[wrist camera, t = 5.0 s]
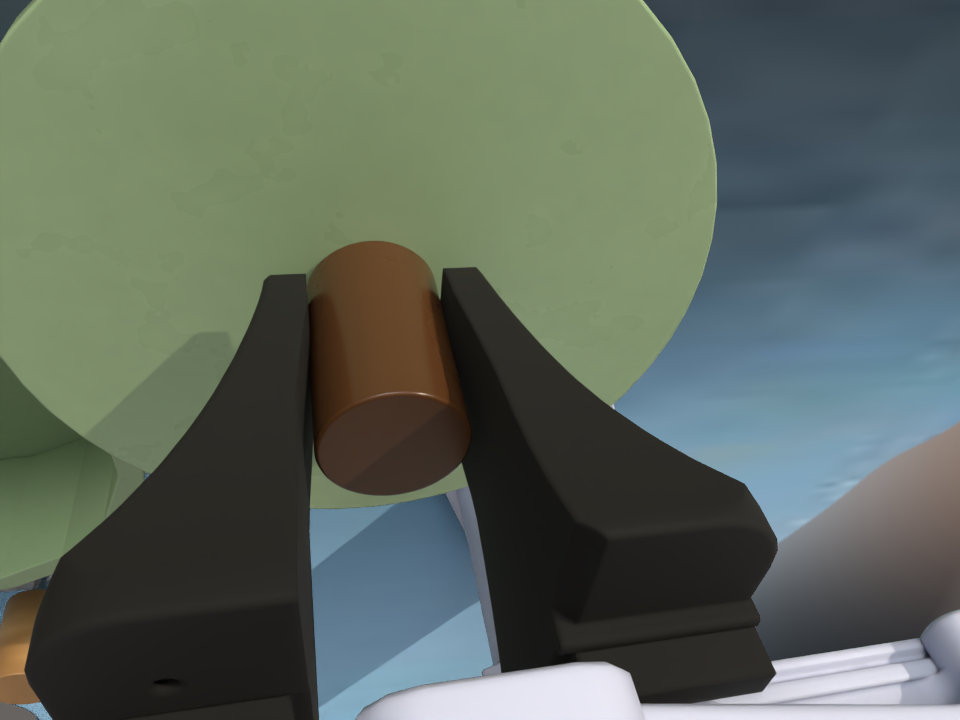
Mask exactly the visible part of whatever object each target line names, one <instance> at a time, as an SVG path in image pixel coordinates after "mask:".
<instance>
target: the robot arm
mask: <svg viewBox="0 0 960 720" xmlns="http://www.w3.org/2000/svg"><path fill="white" fill-rule="evenodd" d="M440 302H441V306H442V310H443V314H444V319H445V323H446V327H447V331H448V335H449V339H450V343H451V347H452V351H453V355H454V359H455V363H456V367H457V372H458V376H459V380H460V384H461V388H462V392H463V396H464V400H465V404H466V408H467V412H468V416H469V420H470V425H471V430H472V440H471V444H470V448H469V450H468V453H467V455H466V456H465V458H464V460H463V461H462V462H461V463H462V466H463V469H464V473H465V476H466V480H467V483H468V486H467V487H464V488H461V489H457V490H454V491H451V492H448V493H445V494H446V496H447V498H448V500H449V502H450V504H451V506H452V508H453V510H454V512H455V514H456V516H457V518H458V520H459V522H460V524H461V526H462V528H463V530H464V532H465V533H466V538H467V543H468V547H469V552H470V557H471V562H472V566H473V571H474V576H475V580H476V585H477V590H478V595H479V599H480V604H481V609H482V614H483V618H484V623H485V628H486V633H487V637H488V642H489V647H490V651H491V656H492V661H493V666H491V667H488V668H486V669H484V670H483V671H482V676H480V677H473V678H466V679H459V680H453V681H446V682H439V683H433V684H426V685H420V686H417V687H413V688H409V689H405V690H401V691H398V692H394V693H390V694H388V695H386V696H384V697H382V698H381V699H379V700H377V701H375V702H374V703H372V704H370V705H368V706H367V707H365V708H364V709H363V710H362V711H361V712H360V713H359V714H358V716H357V718H356V719H355V720H960V610H956V611H952V612H949V613H947V614H945V615H942V616H940V617H938V618H937V619H936V620H934V621H933V622H932V623H931V624H930V625H929V626H928V627H927V628H926V629H925V631H924V632H923V633H922V635H921V638H916V639H910V640H904V641H897V642H891V643H885V644H879V645H872V646H866V647H859V648H853V649H847V650H841V651H834V652H827V653H821V654H815V655H808V656H802V657H796V658H789V659H783V660H777V661H771V660H770V658H769V656H768V654H767V652H766V650H765V648H764V646H763V644H762V641H761V639H760V637H759V635H758V633H757V631H756V629H755V627H754V626H758V624H759V623H760V615H759V613H758V612H757V609H756V607H755V605H754V603H753V601H752V599H751V596H752V595H753V593H754V592H755V590H756V589H757V587H758V585H759V584H760V582H761V581H762V579H763V578H764V576H765V575H766V573H767V571H768V570H769V568H770V566H771V564H772V562H773V560H774V557H775V555H776V553H777V551H778V549H777V538H776V536H775V534H774V532H773V530H772V529H771V527H770V525H769V523H768V521H767V519H766V517H765V515H764V514H763V512H762V510H761V508H760V506H759V505H758V503H757V502H756V500H755V499H754V497H753V496H752V494H751V493H750V491H749V490H748V488H747V487H746V485H745V484H744V483H742V482H740V481H738V480H736V479H734V478H731V477H729V476H727V475H725V474H723V473H721V472H719V471H717V470H715V469H713V468H711V467H709V466H707V465H704V464H702V463H700V462H698V461H696V460H694V459H692V458H691V457H689V456H687V455H685V454H683V453H682V452H680V451H678V450H676V449H675V448H673V447H671V446H669V445H668V444H666V443H664V442H662V441H661V440H659V439H658V438H656V437H654V436H653V435H651V434H650V433H648V432H646V431H645V430H643V429H642V428H640V427H639V426H637V425H636V424H634V423H633V422H632V421H630V420H629V419H627V418H626V417H624V416H623V415H621V414H620V413H618V412H617V411H616V410H615V408H614V404H613V405H612V406H609V405H608V404H606V403H605V402H604V401H602V400H601V399H600V398H599V397H597V396H596V395H595V394H594V393H593V392H591V391H590V390H589V389H588V388H586V387H585V386H584V385H583V384H582V383H580V382H579V381H578V380H577V379H576V378H575V377H574V376H573V375H572V374H570V373H569V372H568V371H567V370H566V369H565V368H564V367H563V366H562V365H561V364H560V363H559V362H558V361H557V360H556V359H555V358H554V357H553V356H552V355H551V354H550V353H549V352H548V351H547V350H546V349H545V348H544V347H543V346H542V345H541V344H540V343H539V341H538V340H537V339H536V338H535V337H534V336H533V335H532V334H531V333H530V331H529V330H528V329H527V328H526V327H525V326H524V325H523V324H522V323H521V321H520V320H519V319H518V318H517V317H516V316H515V314H514V313H513V312H512V311H511V310H510V308H509V307H508V306H507V305H506V303H505V302H504V301H503V300H502V299H501V297H500V296H499V295H498V293H497V292H496V291H495V290H494V288H493V287H492V286H491V284H490V283H489V282H488V281H487V279H486V278H485V277H484V275H483V274H482V273H481V272H480V271H479V270H478V269H477V268H476V267H464V268H443V271H442V284H441V297H440ZM312 456H313V424H312V405H311V386H310V331H309V313H308V297H307V283H306V274H281V275H269V276H268V277H267V278H266V279H265V280H264V281H263V286H262V291H261V294H260V297H259V301H258V304H257V306H256V309H255V312H254V314H253V317H252V319H251V322H250V324H249V326H248V329H247V331H246V333H245V335H244V337H243V339H242V341H241V343H240V345H239V348H238V350H237V352H236V354H235V356H234V358H233V360H232V361H231V363H230V365H229V367H228V368H227V370H226V372H225V374H224V375H223V377H222V379H221V381H220V382H219V384H218V386H217V387H216V389H215V391H214V392H213V394H212V396H211V397H210V399H209V400H208V402H207V403H206V405H205V406H204V408H203V409H202V411H201V412H200V414H199V415H198V416H197V418H196V419H195V421H194V422H193V423H192V425H191V426H190V427H189V429H188V430H187V431H186V433H185V434H184V435H183V437H182V438H181V439H180V440H179V441H178V443H177V444H176V445H175V446H174V448H173V449H172V450H171V451H170V453H169V454H168V455H167V456H166V458H165V459H164V460H163V461H162V462H161V463H160V464H159V466H158V467H157V468H156V469H155V470H154V471H153V472H152V473H151V474H150V475H149V477H148V478H147V479H146V480H145V481H144V482H143V483H142V484H141V485H140V486H139V487H138V488H137V489H136V490H135V491H134V492H133V493H132V494H131V495H130V496H129V497H128V498H127V499H126V500H125V501H124V502H123V503H122V504H121V505H120V506H119V507H118V508H117V509H116V510H115V511H114V512H113V513H112V514H111V515H110V516H109V517H107V518H106V519H105V520H104V521H103V522H102V523H101V524H99V525H98V526H97V527H96V528H95V529H94V530H92V531H91V532H90V533H89V534H88V535H87V536H85V537H84V538H83V539H82V540H81V541H80V542H78V543H77V544H76V545H75V546H74V547H73V548H72V549H70V550H69V551H68V552H67V553H65V554H64V555H63V556H62V557H61V558H60V560H59V562H58V564H57V566H56V568H55V570H54V573H53V575H52V577H51V579H50V581H49V584H48V586H47V589H46V591H45V594H44V596H43V599H42V602H41V604H40V607H39V610H38V613H37V616H36V619H35V623H34V627H33V631H32V636H31V640H30V645H29V650H28V654H27V659H26V664H25V668H24V672H25V675H26V678H27V681H28V684H29V685H30V687H31V688H32V690H33V691H34V693H35V694H36V696H37V697H38V699H39V700H40V702H41V703H42V705H43V706H44V708H45V709H46V711H47V712H48V713H49V715H50V716H51V718H52V719H53V720H319V712H318V694H317V675H316V656H315V637H314V617H313V598H312V578H311V558H310V537H309V524H310V495H311V475H312Z"/></svg>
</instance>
